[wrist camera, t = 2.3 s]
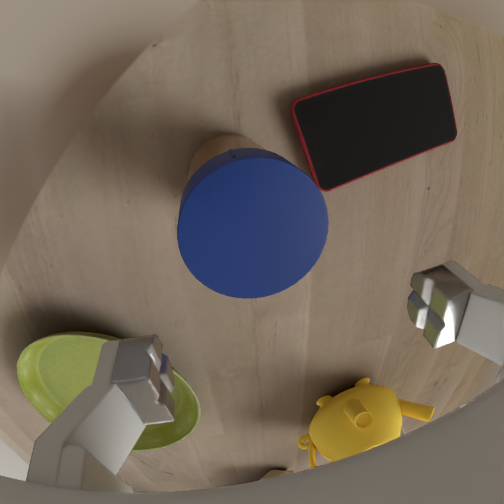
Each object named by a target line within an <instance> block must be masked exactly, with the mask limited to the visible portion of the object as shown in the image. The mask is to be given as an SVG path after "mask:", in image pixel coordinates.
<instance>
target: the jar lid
mask: <svg viewBox="0 0 504 504" xmlns="http://www.w3.org/2000/svg"><path fill="white" fill-rule="evenodd" d="M328 224H329V221H328V211H327V207H326V203H325V200H324V198H323V195H322V194H321V192H320V190H319V188H318V187H317V185H316V184H315V183H314V181H313V180H312V179H311V178H310V177H309V176H308V175H307V174H306V173H304V172H303V171H302V170H300V169H299V168H297V167H296V166H295V165H293V164H292V163H290V162H289V161H287V160H286V159H285V158H283V157H281V156H279V155H278V154H276V153H273V152H270V151H267V150H263V149H258V148H239V149H234V150H231V149H229V151H226V152H224V153H221V154H219V155H217V156H215V157H213V158H211V159H210V160H208V161H207V162H205V163H204V164H203V165H202V166H201V167H200V168H199V169H198V170H197V171H196V172H195V173H194V174H193V176H192V177H191V179H190V180H189V182H188V183H187V185H186V187H185V190H184V192H183V195H182V198H181V203H180V210H179V218H178V227H177V239H178V246H179V250H180V253H181V256H182V258H183V260H184V262H185V264H186V266H187V267H188V269H189V270H190V272H191V273H192V274H193V275H194V276H195V278H196V279H198V280H199V281H200V282H201V283H202V284H203V285H205V286H206V287H208V288H210V289H211V290H213V291H215V292H218V293H220V294H223V295H226V296H230V297H235V298H245V299H246V298H260V297H265V296H269V295H273V294H276V293H278V292H281V291H283V290H285V289H287V288H289V287H290V286H292V285H294V284H295V283H297V282H298V281H299V280H300V279H302V278H303V277H304V276H305V275H306V274H307V273H308V272H309V271H310V270H311V268H312V267H313V266H314V265H315V263H316V262H317V260H318V258H319V257H320V255H321V253H322V251H323V249H324V246H325V243H326V239H327V234H328Z"/></svg>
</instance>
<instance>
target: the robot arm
mask: <svg viewBox="0 0 504 504" xmlns="http://www.w3.org/2000/svg"><path fill="white" fill-rule="evenodd" d="M410 286H411V287H412V289H413V291H412V293H411V294H410V296H409V297H408V303H407V309H408V314H409V317H410V319H411V321H412V322H413V323H414V325H415V326H416V327H419V328H421V329H424V332H423V336H424V337H425V338H426V339H427V341H428V342H429V343H430V344H431V345H432V347H433V348H434V349H437V348H440V347H442V346H444V345H447V344H449V343H451V342H454V341H456V342H457V343H459V344H461V345H463V346H465V347H467V348H468V349H470V350H472V351H474V352H476V353H478V354H480V355H482V356H484V357H486V358H487V359H489V360H491V361H493V362H495V363H497V364H499V365H501V366H502V367H501V369H500V371H499V372H498V374H497V377H496V381H497V382H498V383H497V384H495V385H494V386H492V387H491V388H489V389H488V390H486V391H485V392H483V393H482V394H480V395H478V396H477V397H475V398H474V399H472V400H470V401H469V402H467V403H465V404H463V405H462V406H460V407H458V408H456V409H455V410H453V411H451V412H449V413H447V414H446V415H444V416H442V417H440V418H438V419H436V420H434V421H432V422H430V423H428V424H426V425H424V426H422V427H420V428H418V429H416V430H414V431H412V432H409V433H407V434H405V435H403V436H401V437H398V438H396V439H394V440H391V441H389V442H387V443H384V444H382V445H379V446H377V447H374V448H372V449H369V450H366V451H364V452H361V453H358V454H355V455H353V456H350V457H347V458H344V459H341V460H338V461H335V462H331V463H328V464H325V465H322V466H318V467H315V468H311V469H307V470H304V471H300V472H296V473H292V474H288V475H284V476H279V477H275V478H270V479H265V480H260V481H255V482H250V483H244V484H238V485H232V486H225V487H217V488H209V489H199V490H188V491H174V492H145V493H133V489H132V488H131V487H130V486H129V485H128V484H127V483H125V482H124V481H123V480H122V479H120V478H119V477H118V476H117V475H116V474H117V473H118V471H119V469H120V468H121V466H122V464H123V463H124V461H125V460H126V458H127V456H128V455H129V453H130V451H131V450H132V448H133V446H134V445H135V443H136V442H137V440H138V438H139V437H140V435H141V433H142V432H143V430H144V428H145V427H146V426H145V425H148V424H157V423H164V422H171V421H175V401H174V399H173V398H172V396H171V393H172V392H173V390H174V389H175V380H174V374H173V369H172V366H171V363H170V361H169V358H168V357H167V356H166V355H164V354H162V343H161V341H160V339H159V337H158V336H157V335H149V336H142V337H135V338H127V339H122V340H114V341H107V342H105V343H104V344H103V345H102V349H101V352H100V356H99V360H98V363H97V367H96V371H95V375H94V379H93V383H92V386H87V387H86V388H85V389H84V390H83V391H82V392H81V393H80V394H79V395H78V396H77V397H76V398H75V399H74V400H73V401H72V402H71V403H70V405H69V406H68V407H67V408H66V409H65V410H64V411H63V412H62V413H61V414H60V415H59V416H58V417H57V418H56V419H55V420H54V421H53V422H52V424H51V425H50V426H49V427H48V428H47V429H46V430H45V431H44V432H43V433H42V434H41V435H40V436H39V437H38V438H37V440H36V441H35V444H34V448H33V452H32V456H31V460H30V465H29V470H28V474H27V479H26V481H21V480H17V479H12V478H8V477H4V476H0V504H504V289H501V288H498V287H495V286H491V285H486V286H485V285H484V284H483V283H481V282H480V281H479V280H478V279H477V278H475V277H474V276H473V275H472V274H470V273H469V272H468V271H467V270H465V269H464V268H463V267H462V266H460V265H459V264H458V263H457V262H455V261H448V262H446V263H443V264H440V265H439V266H435V267H432V268H429V269H426V270H423V271H420V272H417V273H414V274H413V276H412V278H411V283H410Z"/></svg>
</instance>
